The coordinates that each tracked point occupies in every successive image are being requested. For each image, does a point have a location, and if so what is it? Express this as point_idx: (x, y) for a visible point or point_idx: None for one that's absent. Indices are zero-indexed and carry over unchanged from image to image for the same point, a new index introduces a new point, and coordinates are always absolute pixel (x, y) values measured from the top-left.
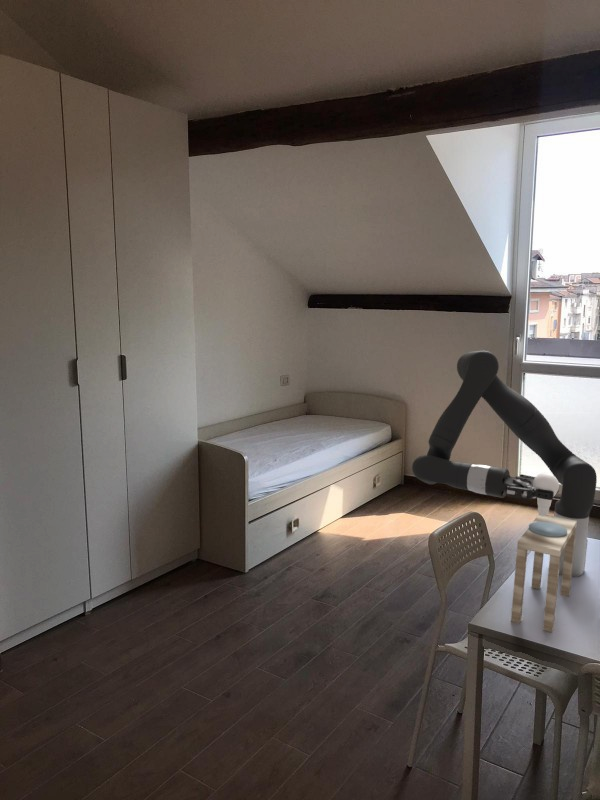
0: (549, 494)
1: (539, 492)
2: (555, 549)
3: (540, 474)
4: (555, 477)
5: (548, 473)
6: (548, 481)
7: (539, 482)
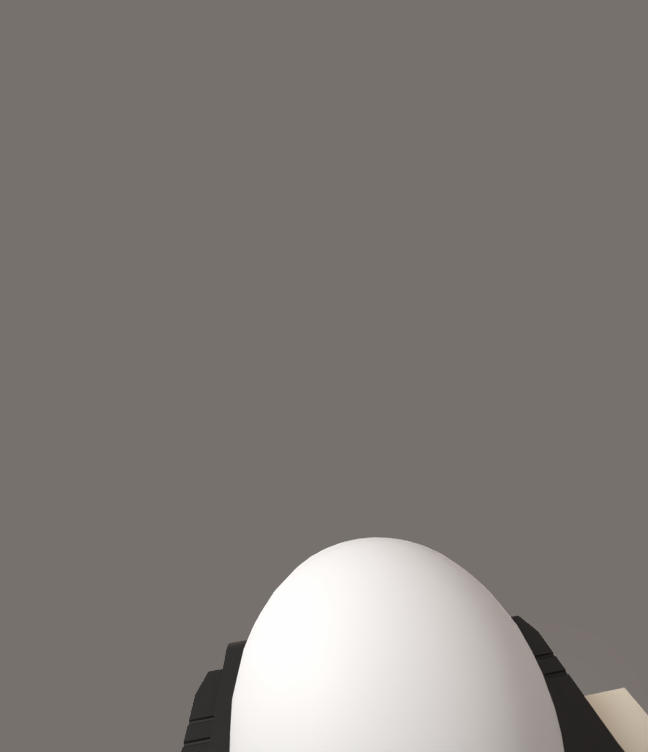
0: (524, 627)
1: (602, 727)
2: (638, 712)
3: (425, 665)
4: (337, 544)
5: (352, 568)
6: (471, 575)
7: (546, 690)
